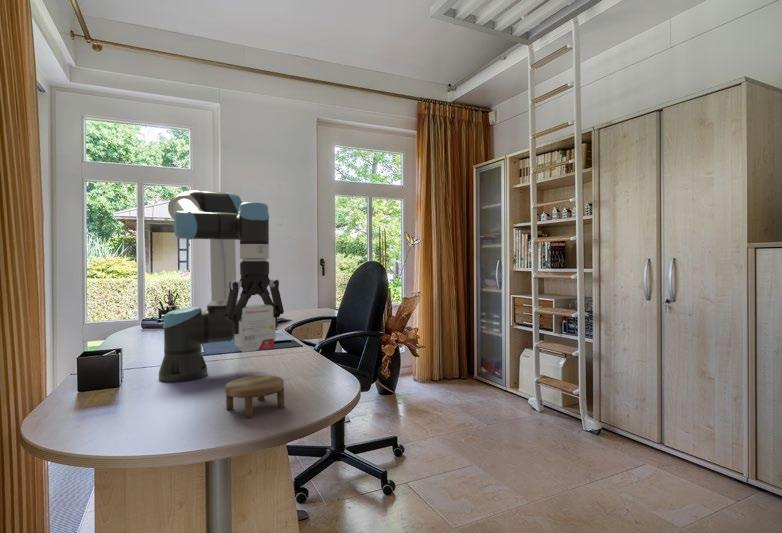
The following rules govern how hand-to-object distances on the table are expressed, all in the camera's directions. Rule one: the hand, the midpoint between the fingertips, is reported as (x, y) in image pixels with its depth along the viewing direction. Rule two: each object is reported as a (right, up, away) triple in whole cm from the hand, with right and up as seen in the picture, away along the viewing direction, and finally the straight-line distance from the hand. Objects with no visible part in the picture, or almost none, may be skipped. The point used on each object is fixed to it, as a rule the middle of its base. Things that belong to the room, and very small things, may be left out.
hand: (255, 343), depth 116 cm
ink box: (0, -2, 0) cm, 2 cm away
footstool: (0, -18, 0) cm, 18 cm away
